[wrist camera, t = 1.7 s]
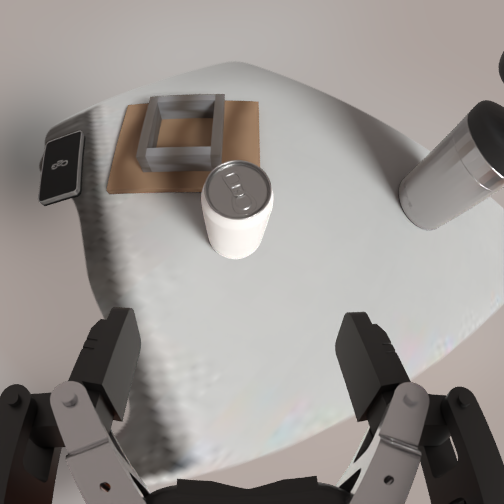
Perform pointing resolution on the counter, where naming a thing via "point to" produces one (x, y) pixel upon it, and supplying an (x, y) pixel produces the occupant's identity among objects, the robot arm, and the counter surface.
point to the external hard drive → (62, 169)
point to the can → (236, 207)
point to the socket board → (182, 142)
